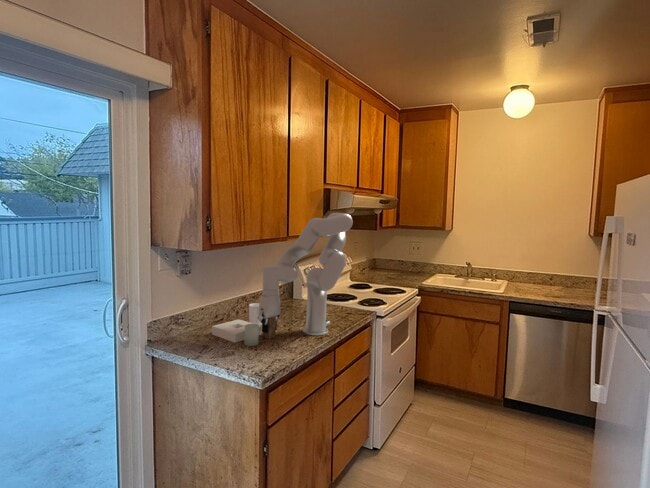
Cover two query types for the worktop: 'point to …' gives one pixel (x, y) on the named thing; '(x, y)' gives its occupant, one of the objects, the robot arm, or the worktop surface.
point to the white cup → (254, 313)
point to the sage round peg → (251, 334)
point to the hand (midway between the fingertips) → (269, 330)
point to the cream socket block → (232, 330)
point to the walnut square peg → (270, 328)
